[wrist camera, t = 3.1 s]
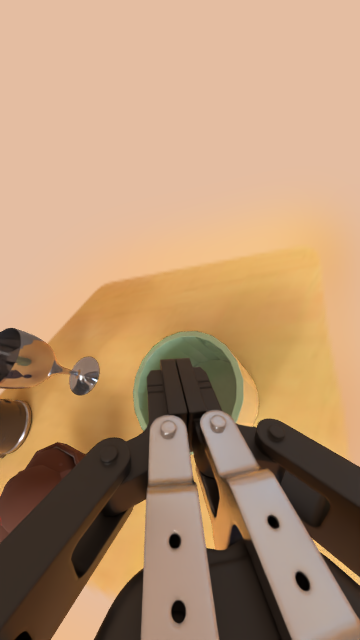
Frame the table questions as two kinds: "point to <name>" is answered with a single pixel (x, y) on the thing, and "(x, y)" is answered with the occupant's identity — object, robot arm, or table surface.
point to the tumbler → (215, 360)
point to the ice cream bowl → (35, 483)
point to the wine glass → (39, 364)
